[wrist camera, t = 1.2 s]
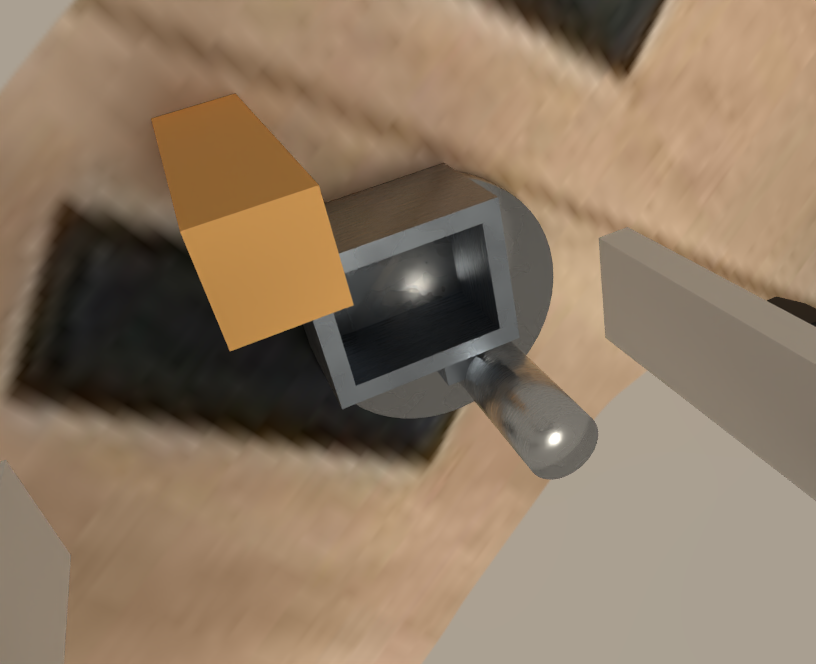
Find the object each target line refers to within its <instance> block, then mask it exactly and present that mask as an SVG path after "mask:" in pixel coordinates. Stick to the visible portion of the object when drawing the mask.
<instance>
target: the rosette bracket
mask: <svg viewBox="0 0 816 664" xmlns="http://www.w3.org/2000/svg"><path fill="white" fill-rule="evenodd" d="M324 205H325V208H326V212H327V215H328V218H329V222H330V225H331V229H332V232H333V236H334V239H335V242H336V246H337V249H338V253H339V256H340V260H341V263H342V266H343V270H344V273H345V277H346V280H347V284H348V287H349V290H350V294H351V297H352V301H353V304H354V305H353V306H350V307H348V308H345V309H342V310H339V311H337V312H334V313H331V314H329V315H326V316H323V317H321V318H318V319H315V320H313V321H310V322H307V323H305V324H303V326H304V329H305V332H306V335H307V338H308V341H309V344H310V347H311V349H312V351H313V353H314V355H315V357H316V359H317V361H318V363H319V365H320V367H321V369H322V371H323V373H324V375H325V377H326V379H327V381H328V382H329V384H330V386H331V388H332V390H333V392H334V394H335V396H336V398H337V400H338V402H339V404H340V406H341V408H342V409H344V408H346V407H349V406H351V405H354V404H356V405H358V406H360V407H361V408H364V409H366V410H369V411H371V412H373V413H377V414H380V415H384V416H388V417H396V418H422V417H431V416H435V415H439V414H444V413H447V412H450V411H453V410H456V409H458V408H461V407H463V406H465V405H467V404H469V403H471V402H473V401H475V402H476V403H477V405H478V406H479V407H480V408H481V410H482V411H483V412H484V413H485V414H486V416H487V417H488V418H489V419H490V420H491V422H492V423H493V424H494V425H495V427H496V428H497V429H498V430H499V431H500V433H501V434H502V435H503V436H504V438H505V439H506V440H507V441H508V442H509V444H510V445H511V446H512V447H513V449H514V450H515V451H516V452H517V453H518V455H519V456H520V457H521V458H522V460H523V461H524V462H525V463H526V464H527V466H528V467H529V468H530V469H531V470H532V472H533V473H534V474H535V475H537V476H538V477H540V478H543V479H558V478H562V477H565V476H567V475H569V474H571V473H573V472H574V471H576V470H577V469H579V468H580V467H581V466H582V465H583V464H584V463H585V462H586V461H587V460H588V458H589V457H590V456H591V454H592V453H593V450H594V449H595V446H596V444H597V440H598V429H597V425H596V423H595V421H594V420H593V419H592V418H591V417H590V416H589V415H588V414H587V413H586V412H585V411H584V410H583V409H582V408H581V407H579V406H578V405H577V404H576V403H575V402H574V401H573V400H572V399H571V398H570V397H569V396H568V395H567V394H566V393H565V392H564V391H563V390H562V389H561V388H560V387H559V386H558V385H557V384H556V383H554V382H553V381H552V380H551V379H550V378H549V377H548V376H547V375H546V374H545V373H544V372H543V371H542V370H541V369H540V368H539V367H538V366H537V365H536V364H535V363H534V362H533V361H532V360H530V359H529V358H528V357H527V356H526V355H527V353H528V352H529V350H530V349H531V347H532V346H533V344H534V342H535V340H536V339H537V337H538V335H539V333H540V331H541V328H542V326H543V324H544V322H545V319H546V315H547V312H548V309H549V305H550V301H551V296H552V287H553V263H552V257H551V252H550V248H549V245H548V242H547V239H546V236H545V234H544V232H543V230H542V228H541V226H540V224H539V222H538V221H537V219H536V218H535V217H534V215H533V214H532V213H531V211H530V210H529V209H528V208H527V207H526V206H525V205H524V204H523V203H522V202H521V201H520V200H518V199H517V198H516V197H514V196H513V195H511V194H510V193H509V192H507V191H505V190H504V189H502V188H500V187H499V186H497V185H495V184H493V183H491V182H489V181H487V180H485V179H483V178H480V177H477V176H474V175H471V174H468V173H462V172H457V171H456V170H454V169H453V168H451V167H449V166H448V165H446V164H445V163H443V164H440V165H437V166H434V167H431V168H428V169H425V170H422V171H419V172H416V173H413V174H410V175H407V176H405V177H402V178H399V179H396V180H393V181H390V182H387V183H384V184H381V185H378V186H375V187H372V188H369V189H366V190H363V191H360V192H357V193H355V194H352V195H349V196H346V197H343V198H340V199H337V200H334V201H331V202H328V203H325V204H324Z"/></svg>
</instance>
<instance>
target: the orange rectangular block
mask: <svg viewBox="0 0 816 664" xmlns="http://www.w3.org/2000/svg"><path fill="white" fill-rule="evenodd" d="M151 120H152V124H153V128H154V132H155V136H156V140H157V144H158V148H159V152H160V155H161V159H162V163H163V167H164V171H165V175H166V179H167V183H168V187H169V190H170V194H171V198H172V202H173V206H174V210H175V214H176V218H177V222H178V225H179V229H180V233H181V235H182V237H183V240H184V242H185V245H186V247H187V249H188V252H189V254H190V257H191V259H192V261H193V264H194V266H195V269H196V271H197V273H198V276H199V278H200V281H201V283H202V285H203V288H204V290H205V293H206V295H207V297H208V300H209V302H210V305H211V307H212V309H213V312H214V314H215V317H216V319H217V321H218V324H219V326H220V329H221V331H222V333H223V336H224V338H225V341H226V343H227V345H228V348H229V350H230V351H232V350H235V349H238V348H240V347H243V346H246V345H248V344H251V343H254V342H256V341H259V340H262V339H264V338H267V337H270V336H272V335H275V334H278V333H280V332H283V331H286V330H289V329H291V328H294V327H297V326H299V325H302V324H305V323H307V322H310V321H313V320H315V319H318V318H321V317H323V316H326V315H329V314H331V313H334V312H337V311H339V310H342V309H345V308H348V307H350V306H353V305H354V304H353V301H352V297H351V294H350V290H349V287H348V284H347V280H346V277H345V273H344V270H343V266H342V263H341V260H340V256H339V253H338V249H337V246H336V242H335V239H334V236H333V232H332V229H331V225H330V222H329V218H328V215H327V212H326V208H325V205H324V201H323V198H322V194H321V191H320V188H319V185H318V184H317V183H316V182H315V180H314V179H313V178H312V177H311V176H310V175H309V174H308V173H307V172H306V171H305V169H304V168H303V167H302V166H301V165H300V164H299V163H298V162H297V161H296V160H295V158H294V157H293V156H292V155H291V154H290V153H289V152H288V151H287V150H286V149H285V148H284V146H283V145H282V144H281V143H280V142H279V141H278V140H277V139H276V138H275V137H274V135H273V134H272V133H271V132H270V131H269V130H268V129H267V128H266V127H265V126H264V124H263V123H262V122H261V121H260V120H259V119H258V118H257V117H256V116H255V115H254V114H253V112H252V111H251V110H250V109H249V108H248V107H247V106H246V105H245V104H244V103H243V101H242V100H241V99H240V98H239V97H238V96H237V95H236V94H232V95H228V96H225V97H222V98H218V99H215V100H212V101H208V102H205V103H202V104H198V105H195V106H192V107H188V108H185V109H182V110H178V111H175V112H172V113H168V114H165V115H162V116H158V117H155V118H152V119H151Z"/></svg>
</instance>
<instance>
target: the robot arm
mask: <svg viewBox="0 0 816 664" xmlns="http://www.w3.org/2000/svg"><path fill="white" fill-rule="evenodd" d="M599 250H600V264H601V279H602V294H603V309H604V323H605V338H607V339H608V340H609V341H611V342H612V343H613V344H614V345H616V346H617V347H618V348H620V349H621V350H622V351H623V352H625V353H626V354H627V355H629V356H630V357H631V358H632V359H634V360H635V361H636V362H638V363H639V364H640V365H641V366H643V367H644V368H645V369H647V370H648V371H649V372H650V373H652V374H653V375H654V376H656V377H657V378H658V379H659V380H661V381H662V382H663V383H665V384H666V385H667V386H668V387H670V388H671V389H672V390H674V391H675V392H676V393H677V394H679V395H680V396H681V397H683V398H684V399H685V400H686V401H688V402H689V403H690V404H692V405H693V406H694V407H696V408H697V409H698V410H699V411H701V412H702V413H703V414H705V415H706V416H707V417H708V418H710V419H711V420H712V421H714V422H715V423H716V424H717V425H719V426H720V427H721V428H723V429H724V430H725V431H727V432H728V433H729V434H730V435H732V436H733V437H734V438H735V439H737V440H738V441H739V442H741V443H742V444H743V445H744V446H746V447H747V448H748V449H750V450H751V451H752V452H754V453H755V454H756V455H757V456H759V457H760V458H761V459H762V460H764V461H765V462H766V463H768V464H769V465H770V466H771V467H773V468H774V469H775V470H777V471H778V472H779V473H781V474H782V475H783V476H784V477H786V478H787V479H788V480H789V481H791V482H792V483H793V484H795V485H796V486H797V487H798V488H800V489H801V490H802V491H804V492H805V493H806V494H808V495H809V496H810V497H811V498H813V499H814V500H815V501H816V309H815V308H813V307H811V306H809V305H807V304H805V303H801V302H797V301H793V300H788V299H784V298H780V297H774V298H772V299H770V300H767V301H766V300H764V299H762V298H760V297H758V296H756V295H755V294H753V293H751V292H749V291H747V290H745V289H743V288H741V287H739V286H738V285H736V284H734V283H732V282H730V281H728V280H726V279H724V278H722V277H721V276H719V275H717V274H715V273H713V272H711V271H709V270H707V269H705V268H704V267H702V266H700V265H698V264H696V263H694V262H692V261H690V260H689V259H687V258H685V257H683V256H681V255H679V254H677V253H675V252H673V251H672V250H670V249H668V248H666V247H664V246H662V245H660V244H658V243H656V242H655V241H653V240H651V239H649V238H647V237H645V236H643V235H641V234H639V233H638V232H636V231H634V230H632V229H630V228H628V227H626V228H624V229H621V230H618V231H616V232H613V233H610V234H608V235H605V236H602V237H600V238H599ZM70 562H71V555H70V553H69V552H68V550H67V549H66V547H65V546H64V544H63V543H62V541H61V540H60V538H59V537H58V535H57V534H56V533H55V531H54V530H53V528H52V527H51V525H50V524H49V522H48V521H47V519H46V518H45V516H44V515H43V513H42V512H41V511H40V509H39V508H38V506H37V505H36V503H35V502H34V500H33V499H32V497H31V496H30V494H29V493H28V491H27V490H26V489H25V487H24V486H23V484H22V483H21V481H20V480H19V478H18V477H17V475H16V474H15V472H14V471H13V469H12V468H11V466H10V465H9V464H8V462H7V461H6V460H4V461H1V462H0V664H64V654H65V639H66V624H67V608H68V593H69V577H70Z"/></svg>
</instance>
